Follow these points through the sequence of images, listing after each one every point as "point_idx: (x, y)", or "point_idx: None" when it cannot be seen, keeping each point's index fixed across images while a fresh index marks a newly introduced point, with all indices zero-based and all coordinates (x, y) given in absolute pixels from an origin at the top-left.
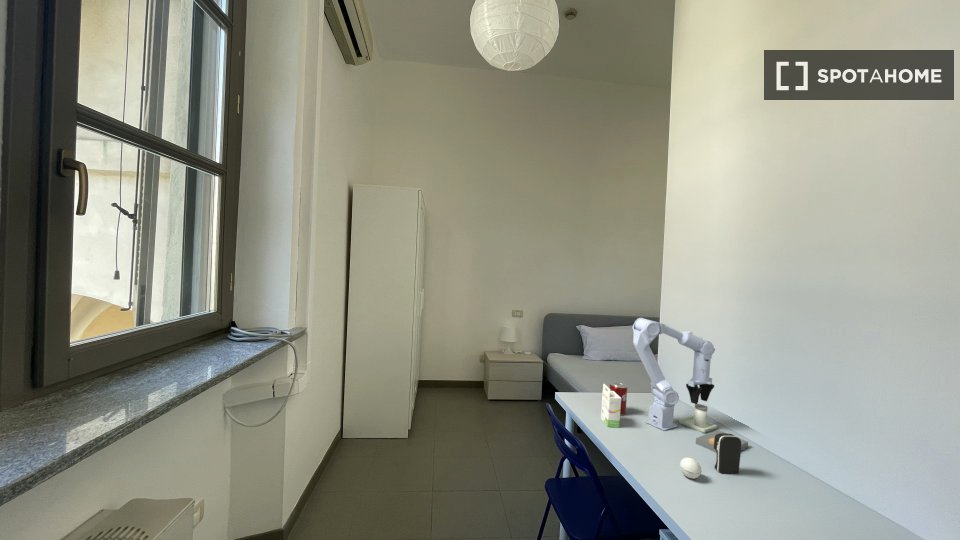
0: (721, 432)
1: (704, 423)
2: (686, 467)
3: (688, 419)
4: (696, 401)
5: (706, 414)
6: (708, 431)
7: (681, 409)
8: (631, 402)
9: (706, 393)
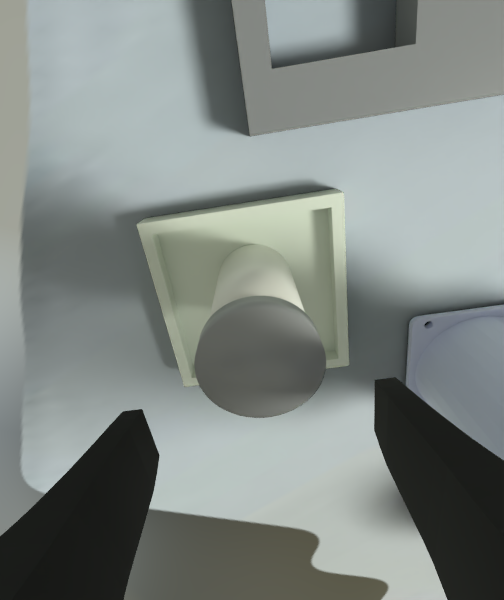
0: (274, 82)
1: (260, 254)
2: None
3: None
4: (422, 401)
5: (231, 287)
6: (274, 198)
7: None
8: (335, 559)
9: (92, 524)
